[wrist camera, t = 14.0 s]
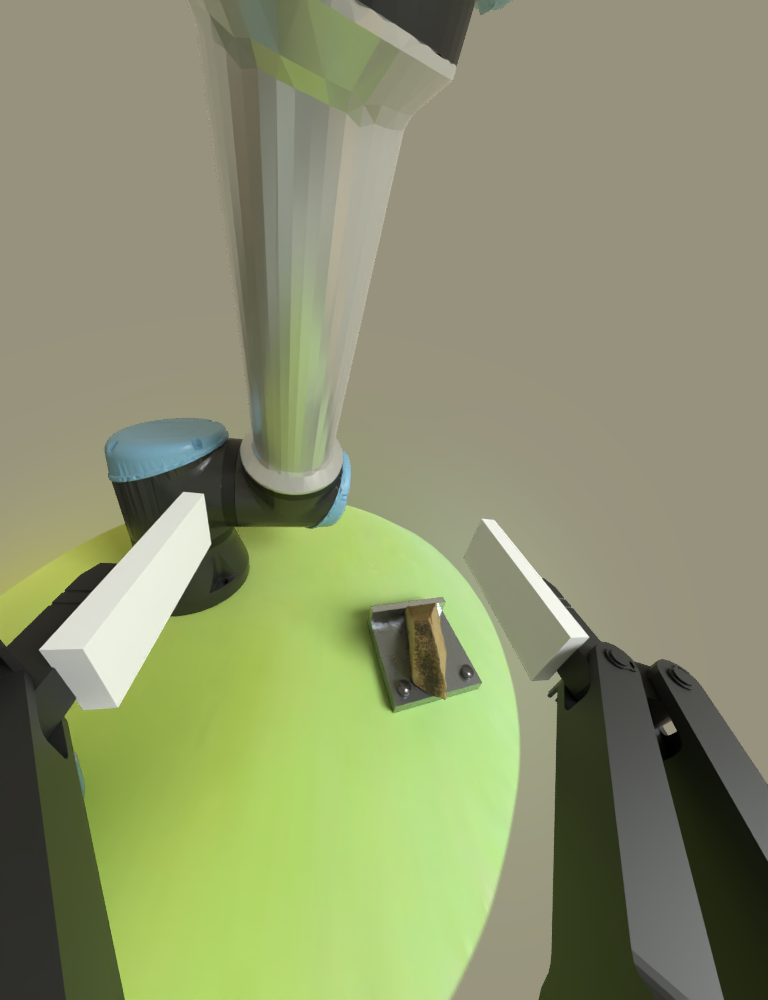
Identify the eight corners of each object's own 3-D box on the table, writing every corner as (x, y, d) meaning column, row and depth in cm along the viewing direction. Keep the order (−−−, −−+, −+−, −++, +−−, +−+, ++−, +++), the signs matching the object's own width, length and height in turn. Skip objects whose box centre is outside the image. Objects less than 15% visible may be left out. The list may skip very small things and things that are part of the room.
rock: (393, 592, 42) (367, 639, 33) (439, 570, 39) (425, 616, 30) (433, 649, 43) (419, 711, 34) (483, 632, 39) (482, 697, 30)
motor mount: (367, 622, 41) (371, 606, 40) (436, 611, 46) (442, 596, 44) (393, 713, 32) (400, 697, 30) (477, 688, 36) (488, 674, 34)
